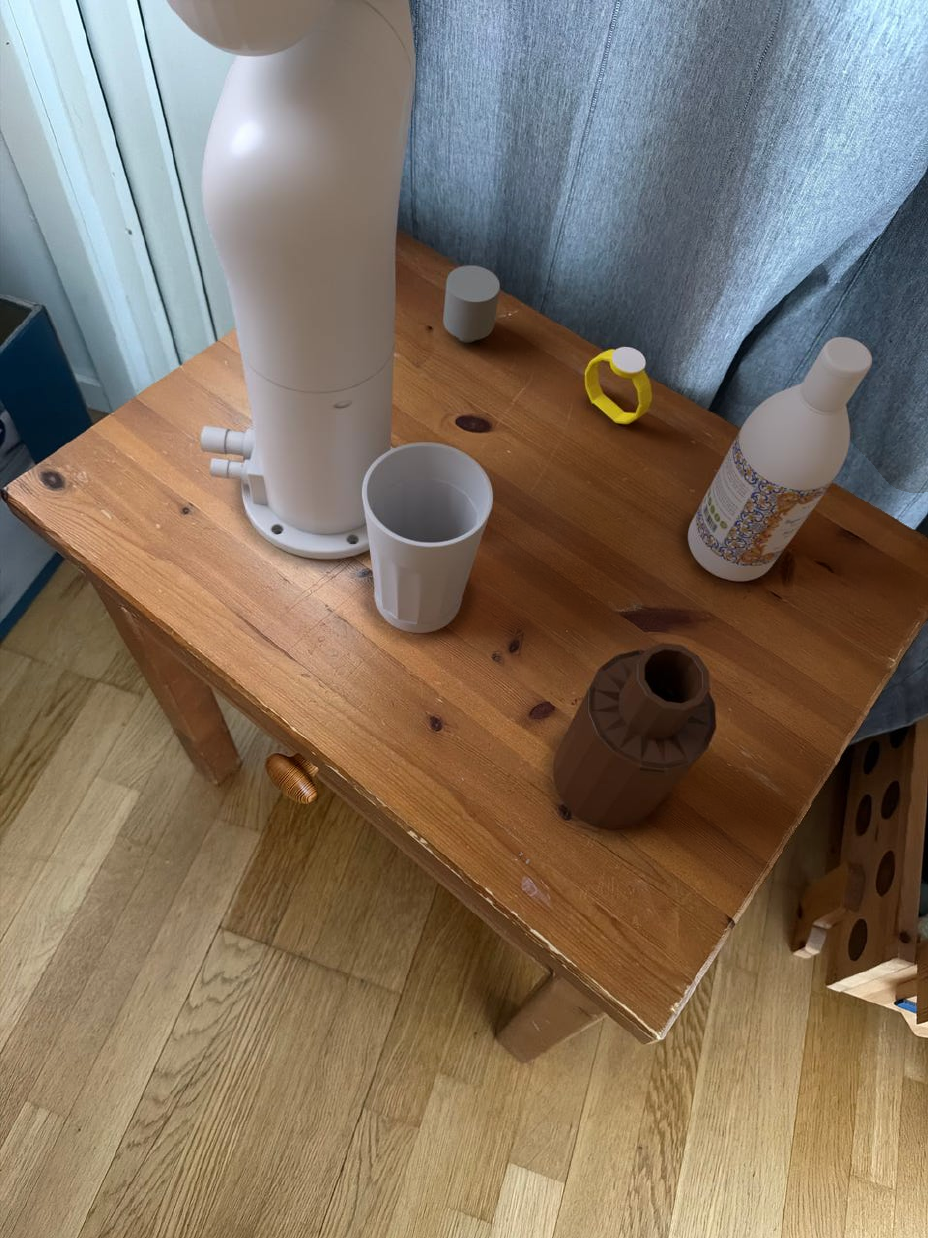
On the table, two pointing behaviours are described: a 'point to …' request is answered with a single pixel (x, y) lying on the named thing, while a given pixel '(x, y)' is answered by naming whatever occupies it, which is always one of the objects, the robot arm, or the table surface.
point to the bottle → (635, 735)
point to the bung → (470, 303)
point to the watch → (626, 366)
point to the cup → (424, 531)
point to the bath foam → (779, 467)
